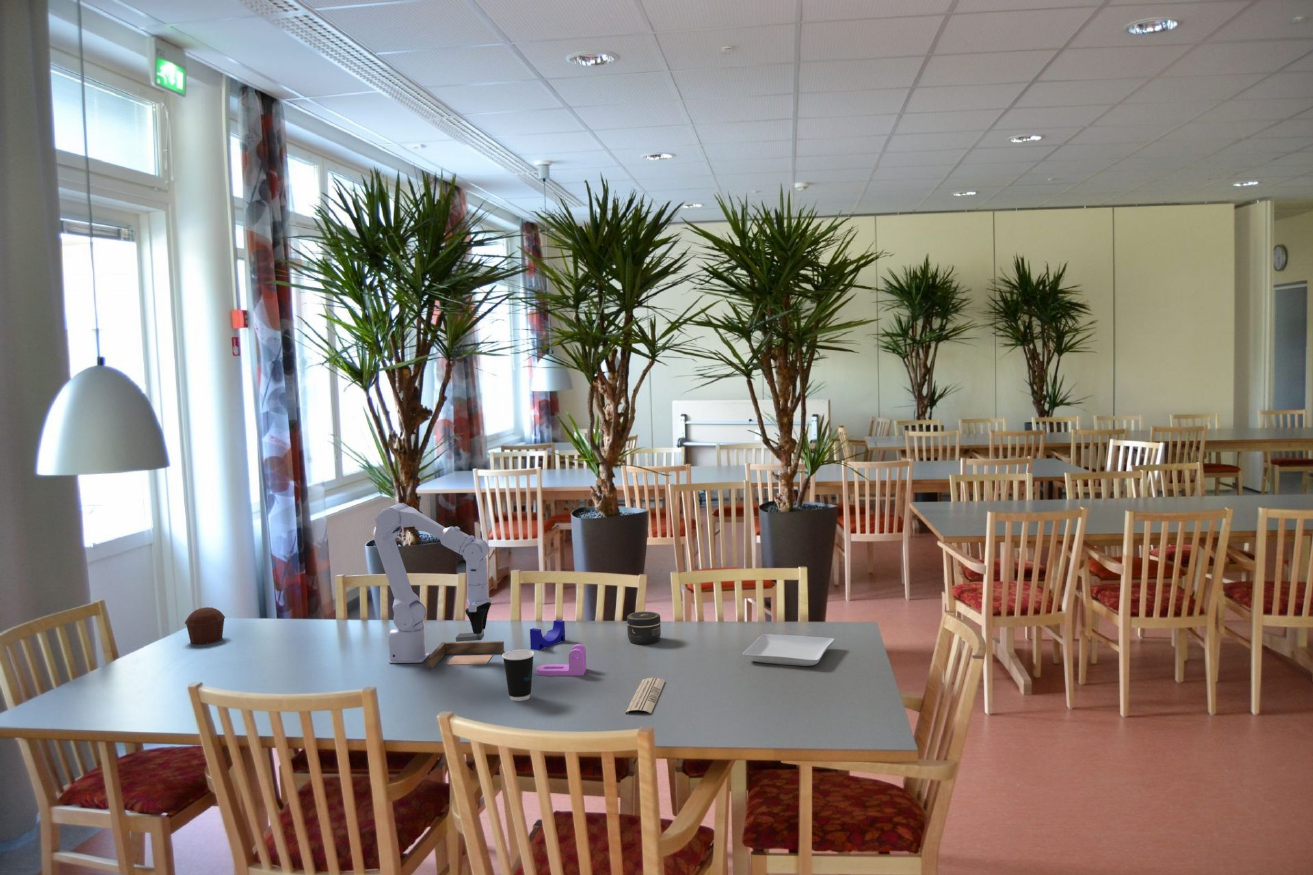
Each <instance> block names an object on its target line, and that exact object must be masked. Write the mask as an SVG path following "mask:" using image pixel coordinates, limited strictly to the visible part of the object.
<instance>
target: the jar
mask: <svg viewBox="0 0 1313 875" xmlns="http://www.w3.org/2000/svg"><path fill="white" fill-rule="evenodd" d="M661 623H662V621H661V615H660V613H657V612H654V611H635V612H632V613H629V614H628V615H627V616H626V628H627V638H628V640H629V642H630V643H631V644H634V645H642V646H643V645H645V646H646V645H652V644H656V643H658V642H659V641H660V639H661V634H662V631H661V630H662V629H661V628H662V627H661Z"/></svg>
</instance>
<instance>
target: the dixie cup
mask: <svg viewBox="0 0 1313 875" xmlns="http://www.w3.org/2000/svg"><path fill="white" fill-rule="evenodd" d="M534 656H535V651H533V650H532V649H513V650H509V651H504V652H503V653H502V655H501V657H502V659H503V665H504V672H505V678H506V685H507V692H508V695H509V698H510V699H509V700H512V701H513V702H522V701H526V700H529V699H530V698H531V693H532V685H533V684H532V682H533V680H532V679H533V670H534V669H533V666H534Z"/></svg>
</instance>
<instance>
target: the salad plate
mask: <svg viewBox="0 0 1313 875" xmlns="http://www.w3.org/2000/svg"><path fill="white" fill-rule="evenodd" d="M834 641H835V638H833V637H823V636H822V637H821V636H810V635H809V636H808V635H794V634H793V635H791V634H789V635H788V634H769V633H763V634H761V635H760V636H759V637H758V638H756V639H755V641H753V643H752V644H750V646H748V647H747V648H746V649H745V650H743V652H742V656H743V657H744V658H746V659H747V660H749V661H752V662H757V663H764V664H775V665H785V666H796V667H797V666H799V667H809V666H814V665H817V664H818V663H819V662H820V661H821V659H822V657H823V655H824V653H826V651H828V649H829V648H830V647H831V646H832V645H833V644H834Z"/></svg>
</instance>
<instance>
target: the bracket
mask: <svg viewBox="0 0 1313 875" xmlns="http://www.w3.org/2000/svg"><path fill="white" fill-rule="evenodd" d="M535 669H536V674H537V675H538V676H542V677H543V676H545V677H547V676H550V677H551V676H554V677H555V676H566V677H567V676H584V675H585V673H586V671H587V670H588V669H587V648H586V647H585V645H583V644H582V643H577V644H575V645H573V647H572V649H571V651H570V652H569V654H568V663H567V664H566V663H565V664H562V663H561V664H559V663H558V664H541V665H539V666H537V667H536V668H535Z"/></svg>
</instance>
